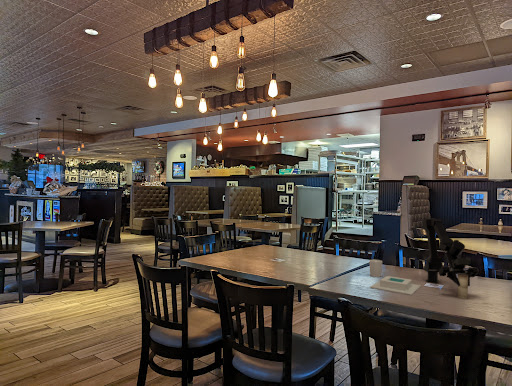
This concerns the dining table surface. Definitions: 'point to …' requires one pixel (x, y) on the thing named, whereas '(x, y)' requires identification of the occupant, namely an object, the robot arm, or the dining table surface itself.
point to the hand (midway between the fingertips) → (464, 285)
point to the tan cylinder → (463, 286)
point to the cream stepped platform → (396, 285)
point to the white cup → (375, 268)
